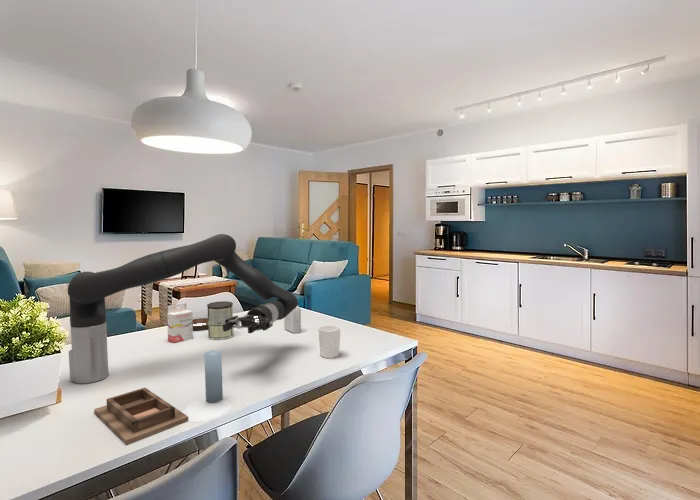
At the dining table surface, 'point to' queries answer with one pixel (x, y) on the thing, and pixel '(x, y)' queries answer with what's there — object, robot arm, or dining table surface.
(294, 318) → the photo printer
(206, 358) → the slate peg
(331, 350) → the white cup
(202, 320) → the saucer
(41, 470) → the dining table surface
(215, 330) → the coffee can
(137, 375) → the dining table surface
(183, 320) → the ink cartridge box
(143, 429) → the slot rack
